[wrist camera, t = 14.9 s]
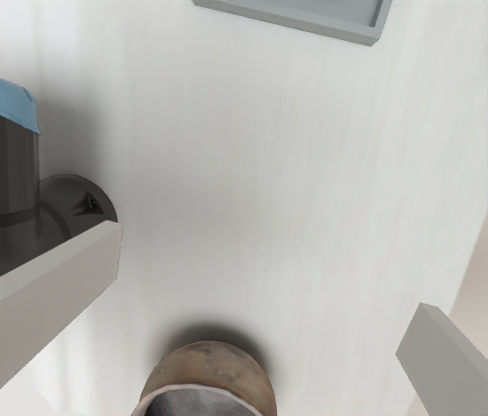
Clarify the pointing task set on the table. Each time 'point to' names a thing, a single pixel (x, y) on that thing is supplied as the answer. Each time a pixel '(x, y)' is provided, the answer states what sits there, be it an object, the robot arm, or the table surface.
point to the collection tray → (315, 15)
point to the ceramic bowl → (207, 384)
